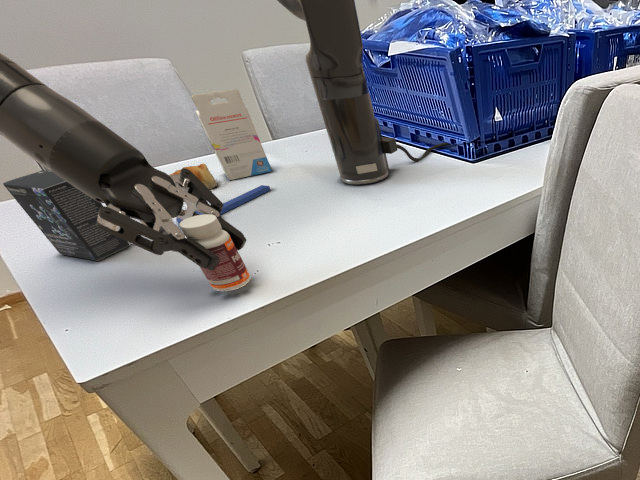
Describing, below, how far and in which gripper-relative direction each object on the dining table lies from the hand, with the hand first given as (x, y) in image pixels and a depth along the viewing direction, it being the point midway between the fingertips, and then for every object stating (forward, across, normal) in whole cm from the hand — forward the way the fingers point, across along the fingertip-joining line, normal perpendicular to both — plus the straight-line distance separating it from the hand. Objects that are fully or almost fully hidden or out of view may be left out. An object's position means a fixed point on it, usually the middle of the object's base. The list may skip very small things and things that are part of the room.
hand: (229, 254), depth 56 cm
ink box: (-16, +44, +24) cm, 53 cm away
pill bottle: (+2, 0, +4) cm, 5 cm away
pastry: (-20, +35, +28) cm, 49 cm away
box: (-18, +8, +25) cm, 32 cm away
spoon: (-11, +26, +18) cm, 33 cm away
